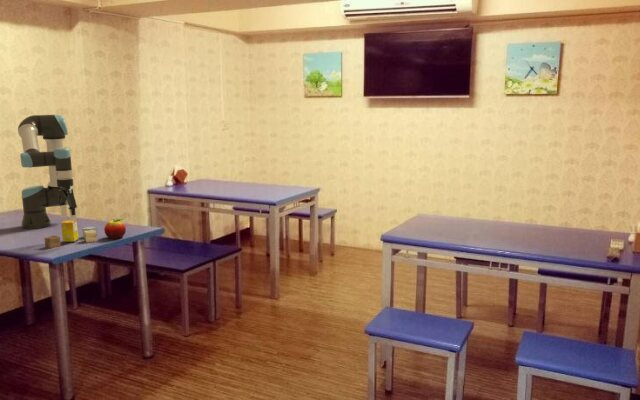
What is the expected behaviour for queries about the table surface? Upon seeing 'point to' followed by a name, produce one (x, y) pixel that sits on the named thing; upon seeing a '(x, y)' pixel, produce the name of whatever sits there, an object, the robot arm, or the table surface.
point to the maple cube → (90, 236)
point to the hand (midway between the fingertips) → (68, 219)
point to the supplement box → (69, 231)
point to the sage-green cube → (89, 230)
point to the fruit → (115, 229)
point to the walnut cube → (52, 241)
